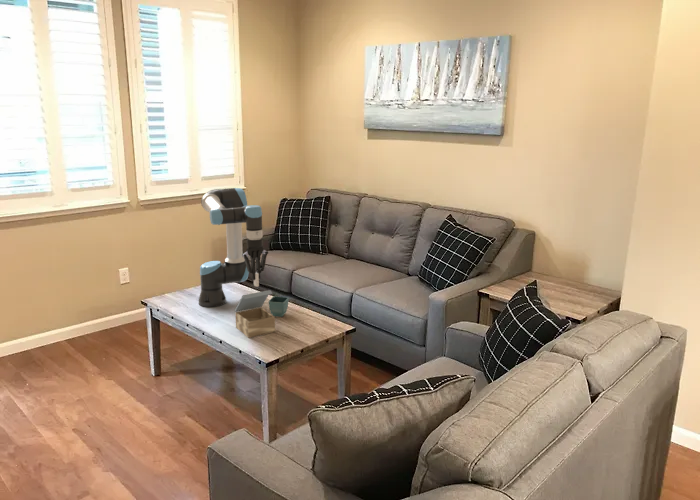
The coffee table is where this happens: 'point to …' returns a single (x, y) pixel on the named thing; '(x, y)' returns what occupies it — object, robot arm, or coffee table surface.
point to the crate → (255, 322)
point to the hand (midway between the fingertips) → (256, 285)
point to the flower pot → (278, 305)
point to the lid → (252, 300)
